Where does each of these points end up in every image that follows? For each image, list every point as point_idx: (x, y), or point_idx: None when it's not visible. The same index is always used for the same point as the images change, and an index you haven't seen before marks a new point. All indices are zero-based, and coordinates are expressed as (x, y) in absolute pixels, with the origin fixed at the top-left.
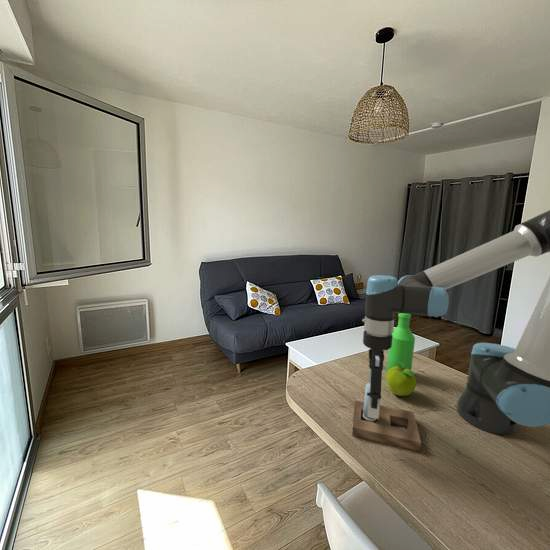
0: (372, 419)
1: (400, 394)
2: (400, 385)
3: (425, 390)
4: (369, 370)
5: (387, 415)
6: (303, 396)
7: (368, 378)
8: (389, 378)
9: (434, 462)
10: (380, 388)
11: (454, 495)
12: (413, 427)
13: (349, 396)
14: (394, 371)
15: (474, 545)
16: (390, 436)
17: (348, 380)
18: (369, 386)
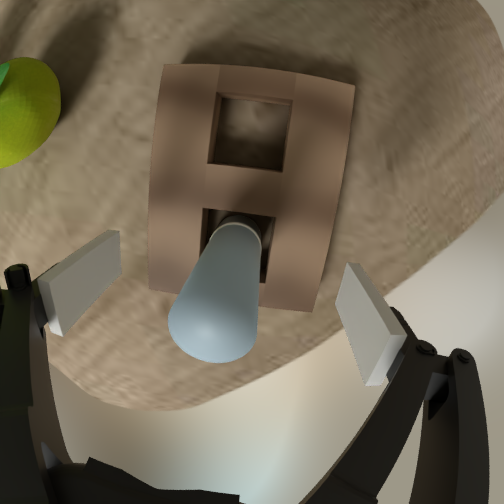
0: (259, 242)
1: (60, 108)
2: (39, 110)
3: (33, 42)
4: (63, 331)
5: (212, 173)
6: (163, 394)
7: (91, 303)
8: (14, 156)
9: (381, 71)
10: (479, 397)
11: (460, 84)
12: (271, 83)
13: None
14: None
15: None
16: (340, 188)
17: (37, 273)
18: (221, 346)
